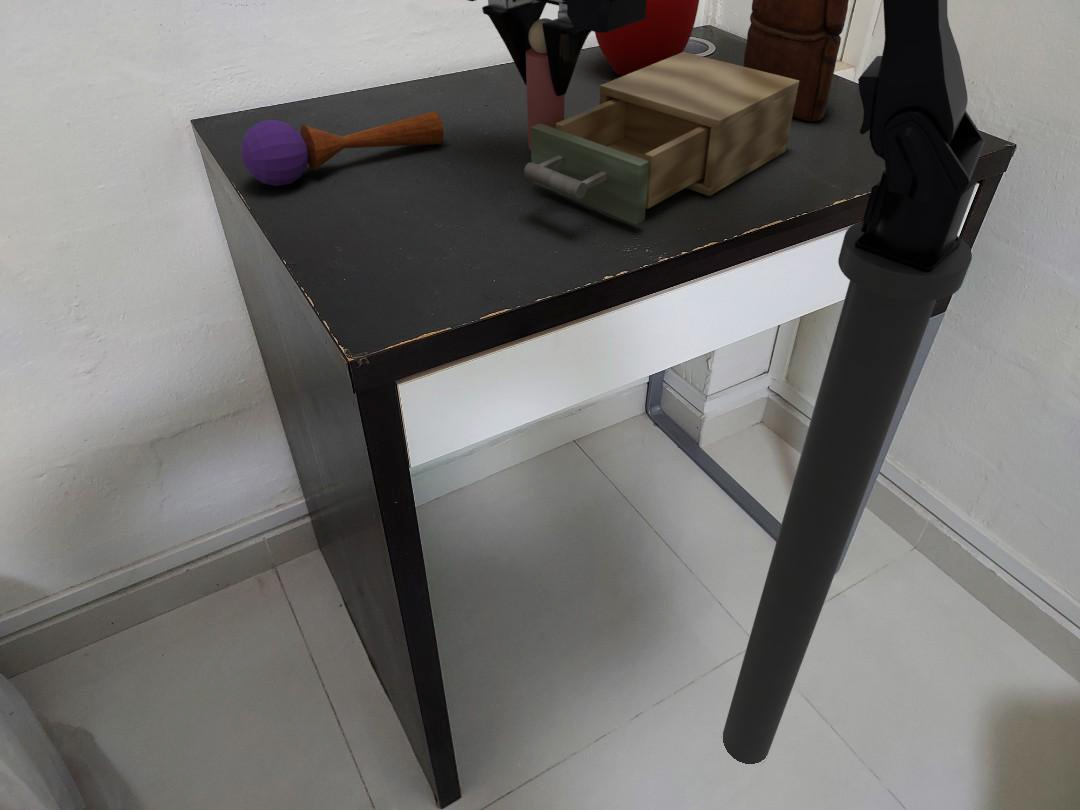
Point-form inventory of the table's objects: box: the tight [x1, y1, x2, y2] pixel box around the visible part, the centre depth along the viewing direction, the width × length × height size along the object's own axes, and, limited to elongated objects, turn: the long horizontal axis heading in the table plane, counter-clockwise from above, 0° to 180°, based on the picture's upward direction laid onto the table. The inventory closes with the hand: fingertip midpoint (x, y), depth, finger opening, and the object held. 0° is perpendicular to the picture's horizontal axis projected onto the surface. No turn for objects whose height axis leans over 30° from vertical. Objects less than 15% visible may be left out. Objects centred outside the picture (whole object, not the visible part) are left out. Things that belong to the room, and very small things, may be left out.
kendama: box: [240, 110, 445, 187], centre depth 78 cm, size 6×6×20 cm
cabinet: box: [599, 51, 799, 197], centre depth 78 cm, size 14×14×7 cm
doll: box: [526, 17, 566, 151], centre depth 75 cm, size 4×4×12 cm
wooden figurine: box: [743, 0, 850, 122], centre depth 84 cm, size 12×6×18 cm, turn 42°
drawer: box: [523, 98, 711, 226], centre depth 71 cm, size 17×12×5 cm
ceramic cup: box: [594, 0, 700, 77], centre depth 98 cm, size 13×17×10 cm
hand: (545, 90), depth 75 cm, fingers closed on doll, 3 cm apart
